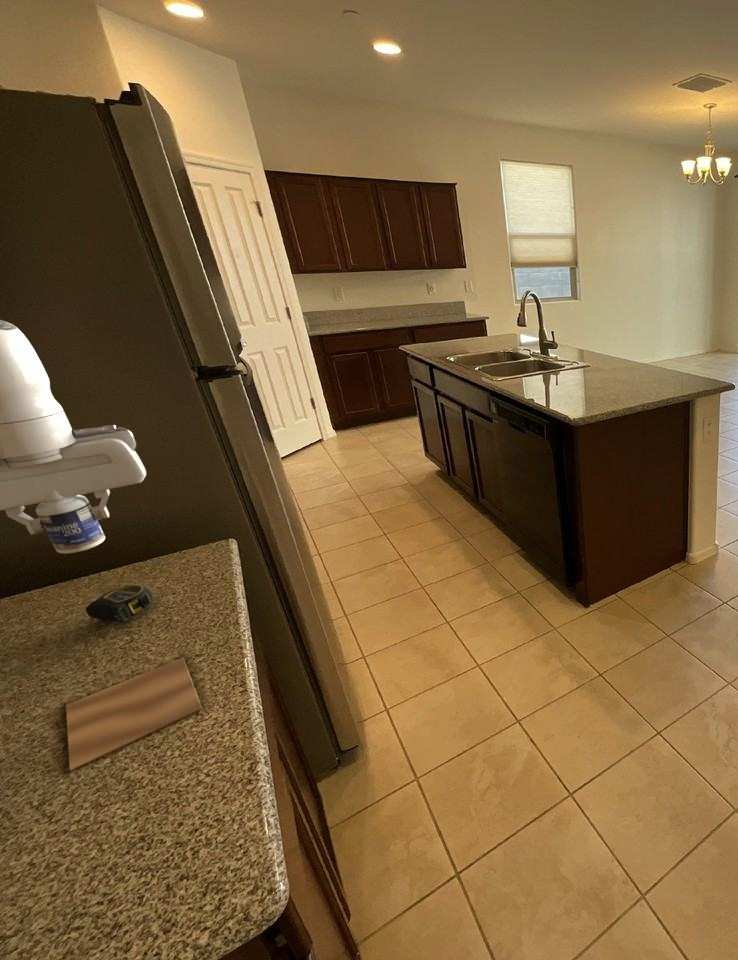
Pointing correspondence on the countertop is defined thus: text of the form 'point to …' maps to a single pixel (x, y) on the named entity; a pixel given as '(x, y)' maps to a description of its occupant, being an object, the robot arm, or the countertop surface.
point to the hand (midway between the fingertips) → (71, 524)
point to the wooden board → (129, 711)
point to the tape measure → (121, 603)
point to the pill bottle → (69, 523)
